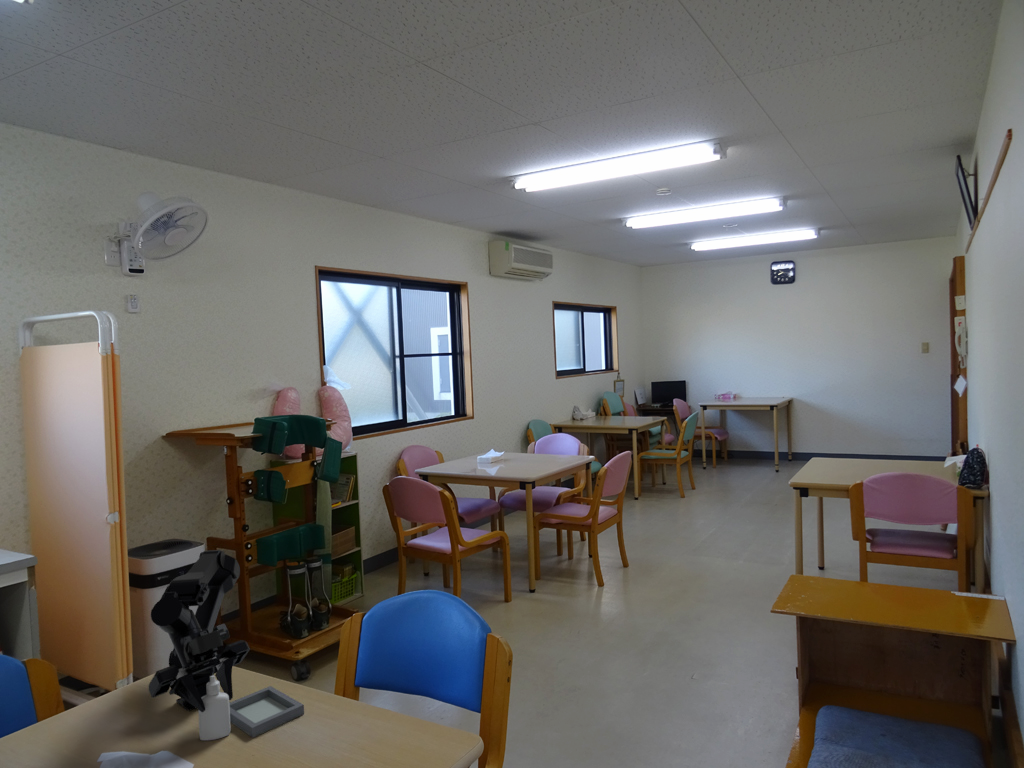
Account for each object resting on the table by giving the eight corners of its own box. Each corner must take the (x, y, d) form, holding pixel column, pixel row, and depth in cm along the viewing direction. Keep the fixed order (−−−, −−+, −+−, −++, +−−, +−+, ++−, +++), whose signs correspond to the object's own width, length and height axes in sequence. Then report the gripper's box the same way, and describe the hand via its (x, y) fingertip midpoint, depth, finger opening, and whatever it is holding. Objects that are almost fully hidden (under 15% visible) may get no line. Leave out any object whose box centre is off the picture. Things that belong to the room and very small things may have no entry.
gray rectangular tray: (220, 715, 144) (220, 706, 144) (270, 694, 153) (270, 685, 153) (252, 737, 135) (252, 727, 135) (304, 714, 144) (303, 704, 144)
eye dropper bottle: (209, 728, 139) (206, 670, 139) (234, 730, 138) (231, 671, 138) (195, 740, 135) (192, 680, 134) (222, 742, 134) (219, 682, 133)
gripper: (152, 630, 131) (183, 704, 124) (243, 601, 145) (275, 666, 139) (135, 661, 136) (165, 733, 130) (225, 630, 151) (255, 693, 144)
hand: (217, 704), depth 135 cm, fingers closed on eye dropper bottle, 5 cm apart
